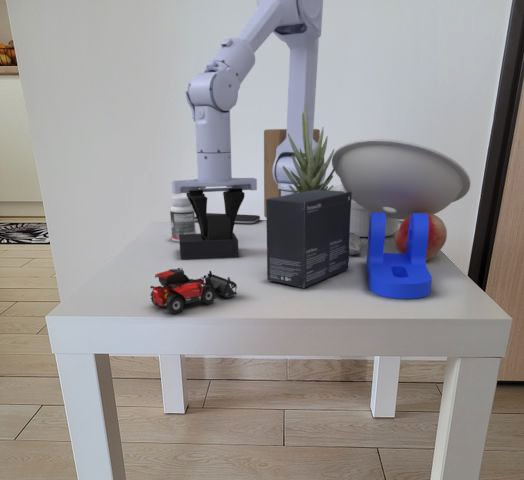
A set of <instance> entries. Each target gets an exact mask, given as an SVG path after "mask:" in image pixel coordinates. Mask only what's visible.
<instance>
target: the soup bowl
mask: <svg viewBox="0 0 524 480" xmlns="http://www.w3.org/2000/svg"><path fill="white" fill-rule="evenodd" d="M331 166H332V170H333V169H334V167H335V169H334V173H335V174H336V175H337V176H338V178H339V180H340V182H341V185H343V187H344V189H345V190H346V192H352V199H353V200H354V201H355V202H356V203H357V204H358V205H360V206H361V207H363V208H365V209H366V210H369V211H371V212H376V213H385V215H386V217H390V218H395V219H406V218H407V217H409V216H410V215H412V213H419V212H425V213H430V214H433V215H434V214H435V215H436V214H438V213H440V212H441V211H443V210H445V209H446V208H448V206H450V205H451V204H452V203H455V202H457V201H459V200H461V199H463V198H464V197H465V196H467V194H468V193H469V191H470V189H471V178H470V175H469V173H468V172H467V170H466V169H465V168H464V167H463V166H462V165H461V164H459V162H458V161H456V160H454V159H453V158H451V157H450V156H448V155H446V154H444V153H442V152H440V151H438V150H436V149H433V148H430V147H427V146H425V145H422V144H418V143H414V142H409V141H405V140H399V139H391V138H364V139H358V140H354V141H350V142H348V143H345V144H344V145H341V146H340V147H339V148H338V149H337V150H335V151H334V153H333V156H332V158H331Z"/></svg>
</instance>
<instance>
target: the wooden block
mask: <svg viewBox="0 0 524 480" xmlns="http://www.w3.org/2000/svg"><path fill="white" fill-rule="evenodd" d="M286 132H287V128H273V129H271V128H270V129H264V131H263V198H264V199H263V210H264V211H263V215H264V218H266V219H267V217H266V199H269V198H275V197H280V196H281V190H282V189H278V184H276V182H275V180H274V178H273V172H272V170H273V164H274V161H275V158H276V149H277V147H278V146H279V145H280V144H281V143H282V142H283V141H284V140H285V139H286ZM320 134H321V131H320V129H319V128H313V139H314V141H316V142H317V143H318V141H319V137H320ZM302 154H303V156H305V154H304V153H302ZM293 155H295V153H294V154H293Z"/></svg>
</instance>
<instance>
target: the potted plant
mask: <svg viewBox="0 0 524 480" xmlns="http://www.w3.org/2000/svg"><path fill="white" fill-rule="evenodd" d="M302 131H303V143H304V150H305V157H306V159H304V156H303V154H302V151H301V149H300V153H299V151H298V149H297V148H296V146H295V144H294V142H293V140H292V138H291V137H290V135H289V133H288V137H289V140H290V143H291V146H292V148H293V151H294V153H295V156H296V158H297V161H298V163H299V165H300V166H299V165H298V163H297V162H296V160H295V158H294V157H293V155H292V154H291V156H292V160H293V163H294V165H295V168H296V170H297V172H298V175H299V177H300V178H299V177H297V176H296V175H295V174H294V173H293V172H292V171H291V174H292V176H293V177H294V178H295V180H296V181H297V182H298V184H299V185H300V186H298V185H297V183H296V182H295V180H294V179H293V177H292V176H291V174H290V173H289V172H288V170H287V169H286V168H285V167H284V166H283V169H284V171H285V173H286V174H287V176H288V177H289V179H290V180H291V182H292V183H293V184H294V186H295V187H296V189H297V190H298V192H299V193H300V192H306V191H311V190H328V191H331V188H332V187H333V186H334V185H333V184H332V185H331V186H328V185H329V184H330V183H331V181H332V179H333V178H334V175H333V174H334V173H335V171H334V169H335V167H334V169H333V168H332V170H331V172H330V174H328V176H327V177H326V179H324V181H323V183H322V184H321V185H319V184H320V182H321V180H322V178H323V176H324V174H325V172H326V173H327V170H328V168H329V165H330V163H331V162H332V157H333V155H334V153H335V149H334V148H333V149H332V151H331V153H330V154H329V157H327V159H326V160H325V155H326V151H327V145H328V138H329V136H328V135H326V138H325V139H324V126H322V128H321V131H320V137H319V141H318V144H317V147H316V150H315V153H314V156H313V151H312V141H311V142H310V140H309V128H308V114H307V102H306V105H305V118H304V114H303V113H302ZM323 139H324V142H323ZM321 147H322V148H321ZM324 162H325V164H324ZM300 167H301V168H300ZM289 187H290V189H291V190H292V191H293V193H294V194H295V193H297V192H296V191H295V189H294V188H293V187H292V186H290V185H289ZM293 193H292V194H293Z"/></svg>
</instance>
